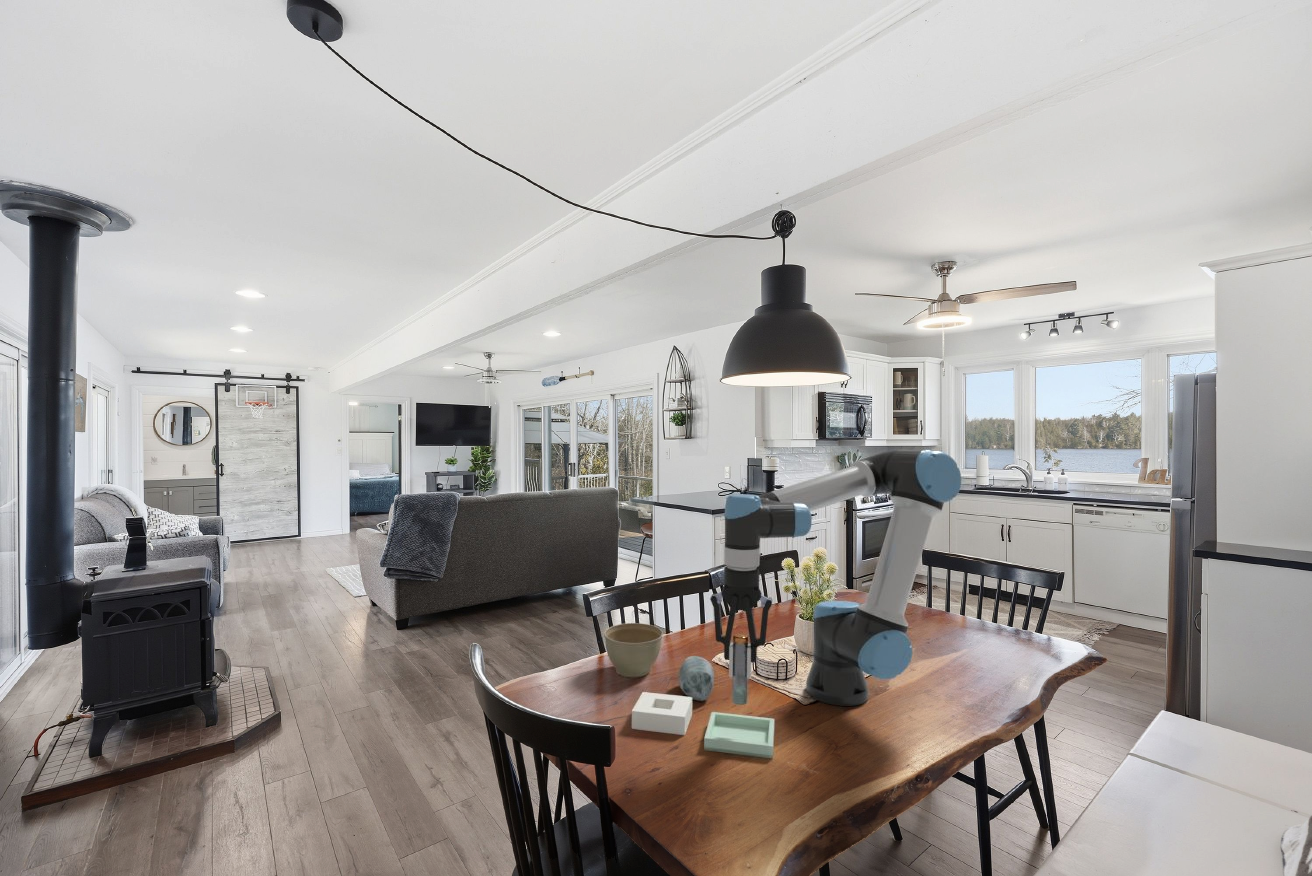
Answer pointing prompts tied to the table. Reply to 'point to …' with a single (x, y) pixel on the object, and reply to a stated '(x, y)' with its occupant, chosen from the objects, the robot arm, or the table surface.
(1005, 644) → the table surface
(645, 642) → the planter bowl
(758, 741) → the tray
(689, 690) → the blue-grey stone
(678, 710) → the socket block
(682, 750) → the table surface
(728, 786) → the table surface
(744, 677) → the pin
